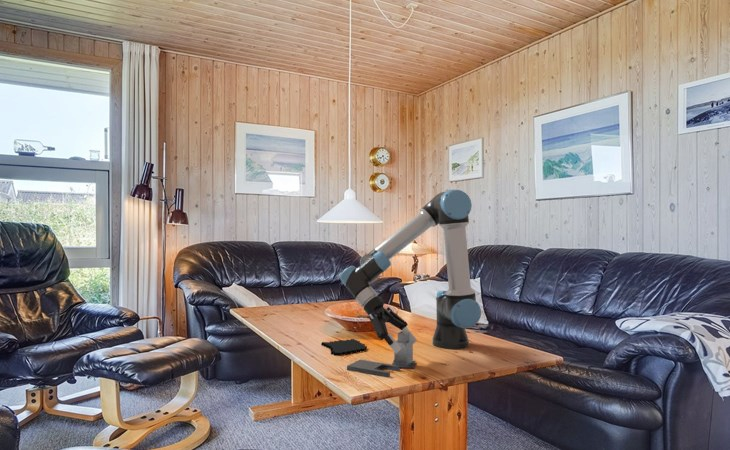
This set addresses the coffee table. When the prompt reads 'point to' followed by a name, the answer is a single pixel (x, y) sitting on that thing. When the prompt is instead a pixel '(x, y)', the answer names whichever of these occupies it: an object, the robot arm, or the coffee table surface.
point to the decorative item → (344, 347)
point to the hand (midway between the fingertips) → (407, 346)
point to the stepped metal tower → (404, 350)
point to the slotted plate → (372, 367)
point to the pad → (406, 366)
